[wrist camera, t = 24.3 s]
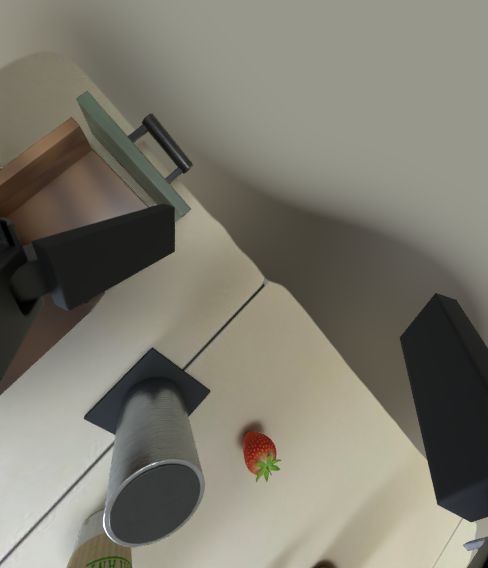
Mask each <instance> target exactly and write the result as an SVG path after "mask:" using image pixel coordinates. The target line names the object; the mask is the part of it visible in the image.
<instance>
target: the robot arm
mask: <svg viewBox="0 0 488 568" xmlns="http://www.w3.org/2000/svg"><path fill="white" fill-rule="evenodd" d="M31 243H32V244H28V245H25V246H22V243H21V241H20V238H19V236H18V233H17V231H16V228H15V226H14V223H13V222H12V221H11V220H10V219H7V218H3V217H0V382H1V380H2V378H3V376H4V374H5V373H6V371H7V369H8V367H9V366H10V364H11V362H12V360H13V358H14V357H15V355H16V353H17V351H18V350H19V348H20V346H21V344H22V342H23V341H24V339H25V337H26V335H27V334H28V332H29V330H30V328H31V326H32V325H33V323H34V321H35V319H36V318H37V316H38V314H39V312H40V310H41V309H42V307H43V305H44V301H45V300H44V298H43V295H45V294H47V293H49V292H50V293H51V296H52V298H53V301H54V304H55V305H57V306H59V307H61V308H63V309H65V310H67V311H71V310H72V309H74V308H76V307H78V306H79V305H81V304H83V303H85V302H86V301H88V300H90V299H92V298H93V297H95V296H97V295H99V294H101V293H102V292H104V291H106V290H108V289H109V288H111V287H113V286H115V285H116V284H118V283H120V282H122V281H123V280H125V279H127V278H129V277H131V276H132V275H134V274H136V273H138V272H139V271H141V270H143V269H145V268H146V267H148V266H150V265H152V264H153V263H155V262H157V261H159V260H161V259H162V258H164V257H166V256H168V255H169V254H171V253H173V252H175V207H173V206H170V205H167V204H164V203H163V204H160V205H156V206H153V207H149V208H146V209H142V210H139V211H135V212H132V213H128V214H125V215H121V216H118V217H114V218H111V219H107V220H104V221H100V222H97V223H93V224H90V225H86V226H83V227H79V228H76V229H72V230H68V231H65V232H61V233H58V234H54V235H51V236H47V237H44V238H40V239H37V240H33V241H31ZM400 341H401V346H402V350H403V354H404V359H405V363H406V368H407V372H408V376H409V381H410V385H411V389H412V394H413V399H414V403H415V407H416V411H417V416H418V421H419V425H420V429H421V434H422V438H423V443H424V447H425V451H426V456H427V460H428V465H429V469H430V474H431V478H432V482H433V487H434V491H435V496H436V500H437V504H438V505H439V506H441V507H443V508H445V509H447V510H449V511H451V512H453V513H454V514H456V515H458V516H460V517H462V518H464V519H466V520H468V521H470V522H473V521H476V520H480V519H483V518H486V517H488V348H487V346H486V345H485V343H484V342H483V340H482V339H481V337H480V336H479V334H478V333H477V331H476V330H475V328H474V326H473V325H472V324H471V322H470V320H469V319H468V317H467V316H466V315H465V313H464V311H463V310H462V308H461V307H460V305H459V304H458V302H457V300H455V299H452V298H449V297H446V296H443V295H440V294H437V293H435V295H434V296H433V297H432V298H431V300H430V301H429V302H428V303H427V305H426V306H425V307H424V308H423V309H422V311H421V312H420V313H419V314H418V316H417V317H416V318H415V320H414V321H413V322H412V323H411V324H410V326H409V327H408V328H407V329H406V331H405V332H404V333H403V334H402V336H401V337H400ZM463 546H464V547H465V548H466V549H467V551H470V550H474V549H478V552H477V553H476V555H475V556H474V558H473V560H472V561H471V563H470V564H469V566H468V567H467V568H488V537H485V538H481V539H477V540H473V541H469V542H467V543H466V544H464V545H463Z"/></svg>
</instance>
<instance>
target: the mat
mask: <svg viewBox="0 0 488 568" xmlns="http://www.w3.org/2000/svg"><path fill="white" fill-rule="evenodd" d="M153 377H164V378H168V379H170V380H172V381H174V382H175V383H177V384H178V386H179V387H180V389H181V391H182V394H183V398H184V402H185V406H186V410H187V414H188V417H189V416H190V414H191V413H192V412H193V411H194V410H195V409H196V408H197V407H198V405H199V404H200V403H201V402H202V401H203V400H204V399H205V398H206V396H207V395H208V394H209V393H210V390H209V389H207V388H206V387H205V386H203V385H202V384H201V383H199V382H198V381H197V380H195V379H194V378H193V377H191V376H190V375H189V374H187V373H186V372H185V371H183V370H182V369H180V368H179V367H178V366H176V365H175V364H174V363H172V362H171V361H170V360H168V359H167V358H166V357H164V356H163V355H162V354H160V353H159V352H158V351H156V350H155V349H154V348H151V349H150V350H149V351H148V352H147V353H146V354H145V355H144V356H143V357H142V358H141V359H140V360H139V361H138V362H137V363H136V364H135V365H134V366H133V367H132V369H131V370H130V371H129V372H128V373H127V374H126V375H125V376H124V377H123V378H122V379H121V380H120V381H119V382H118V383H117V384H116V385H115V386H114V387H113V388H112V389H111V390H110V391H109V392H108V393H107V394H106V395H105V396H104V397H103V398H102V399H101V400H100V401H99V402H98V403H97V404H96V405H95V406H94V407H93V408H92V409H91V410H90V411H89V412H88V413H87V414H86V415H85V417H84V419H85V420H87V421H89V422H91V423H93V424H95V425H97V426H99V427H101V428H103V429H105V430H107V431H109V432H111V433H113V434H115V435H116V429H117V422H118V416H119V409H120V404H121V401H122V399H123V397H124V395H125V394H126V393H127V392H128V390H129V389H130V388H132V387H133V386H134V385H135V384H137V383H139V382H140V381H143V380H145V379H148V378H153Z"/></svg>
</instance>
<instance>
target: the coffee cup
mask: <svg viewBox="0 0 488 568" xmlns="http://www.w3.org/2000/svg"><path fill="white" fill-rule="evenodd" d="M104 510H105V509H103V510H100V511H98V512H96V513H95V514H93V515H92V516H90V517H89V518H88V519H87V520H86V521H85V523H84V524H83V526H82V527H81V530H80V533H79V536H78V539H77V542H76V545H75V548H74V551H73V554H72V556H71V558H70V560H69V562H68V565H67V568H132V558H131V547H127V546H123V545H120V544H117V543H116V542H114V541H112V540H111V539H110V538H109V536H108V535H107V533H106V531H105V528H104V523H103V518H104Z"/></svg>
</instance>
